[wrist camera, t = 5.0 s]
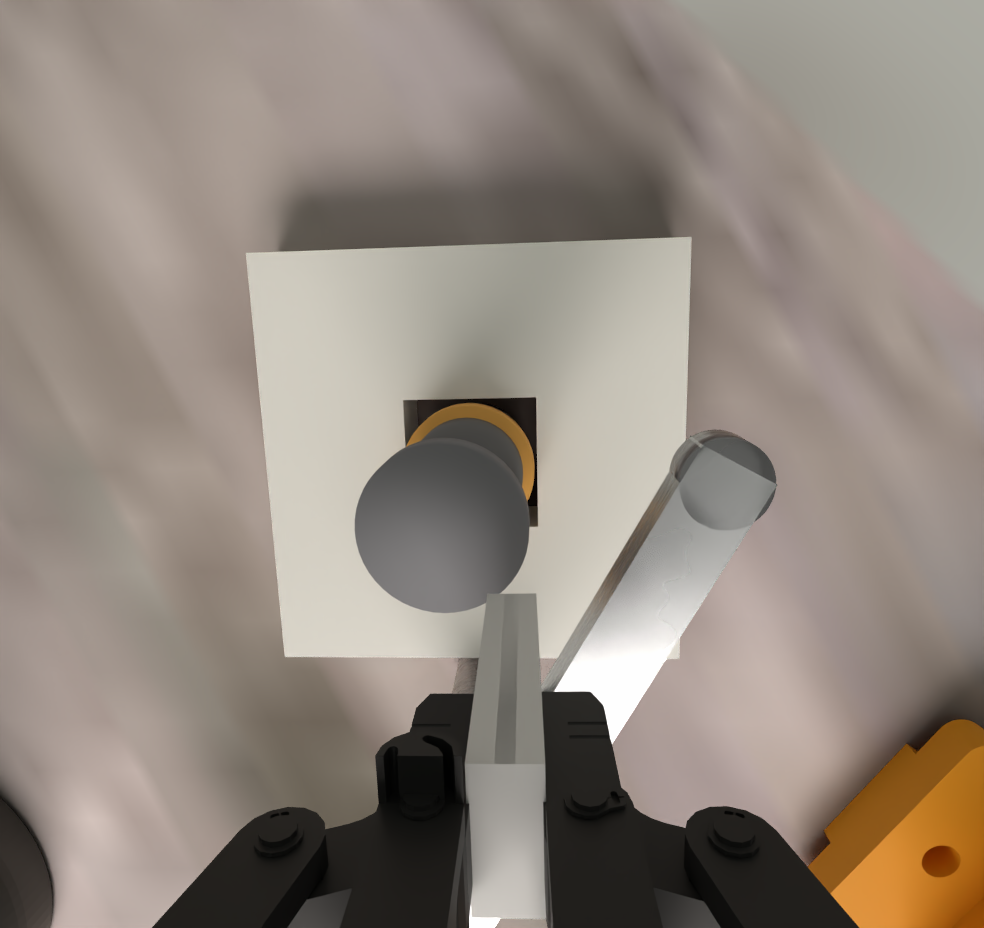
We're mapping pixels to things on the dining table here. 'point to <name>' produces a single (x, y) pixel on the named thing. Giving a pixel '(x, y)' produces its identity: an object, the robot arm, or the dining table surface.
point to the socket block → (464, 375)
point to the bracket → (914, 838)
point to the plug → (449, 510)
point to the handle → (658, 577)
